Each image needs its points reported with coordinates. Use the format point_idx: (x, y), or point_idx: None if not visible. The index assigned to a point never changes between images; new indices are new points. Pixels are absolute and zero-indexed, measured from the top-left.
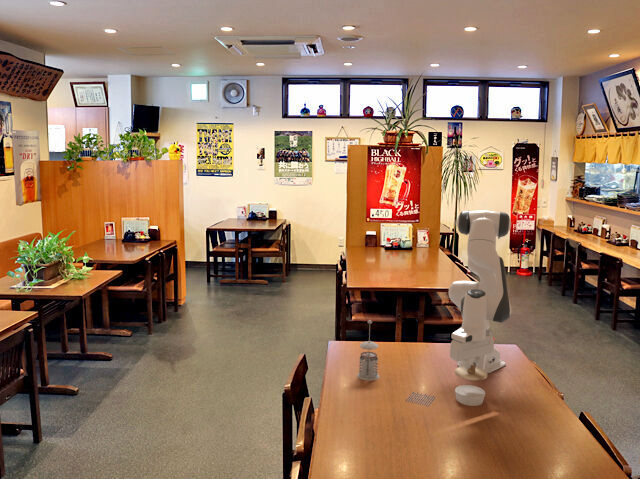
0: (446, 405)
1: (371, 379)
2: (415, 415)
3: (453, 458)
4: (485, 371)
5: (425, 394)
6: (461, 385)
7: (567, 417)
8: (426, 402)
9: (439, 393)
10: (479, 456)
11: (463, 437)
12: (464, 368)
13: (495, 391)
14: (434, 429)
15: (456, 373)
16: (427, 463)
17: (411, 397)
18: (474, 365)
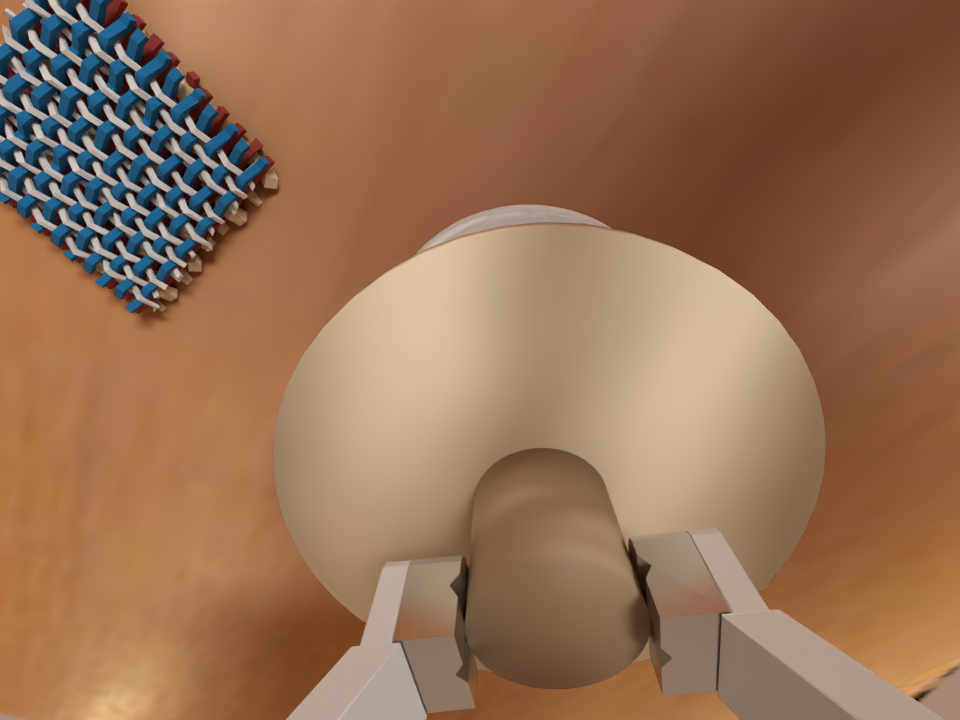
0: (324, 287)
1: None
2: (37, 341)
3: (139, 690)
4: (784, 552)
5: (171, 75)
6: (531, 211)
7: (923, 642)
8: (133, 243)
9: (377, 32)
10: (250, 709)
11: (249, 607)
12: (542, 335)
13: (923, 201)
14: (123, 512)
15: (276, 450)
16: (22, 681)
17: (8, 92)
18: (585, 670)
